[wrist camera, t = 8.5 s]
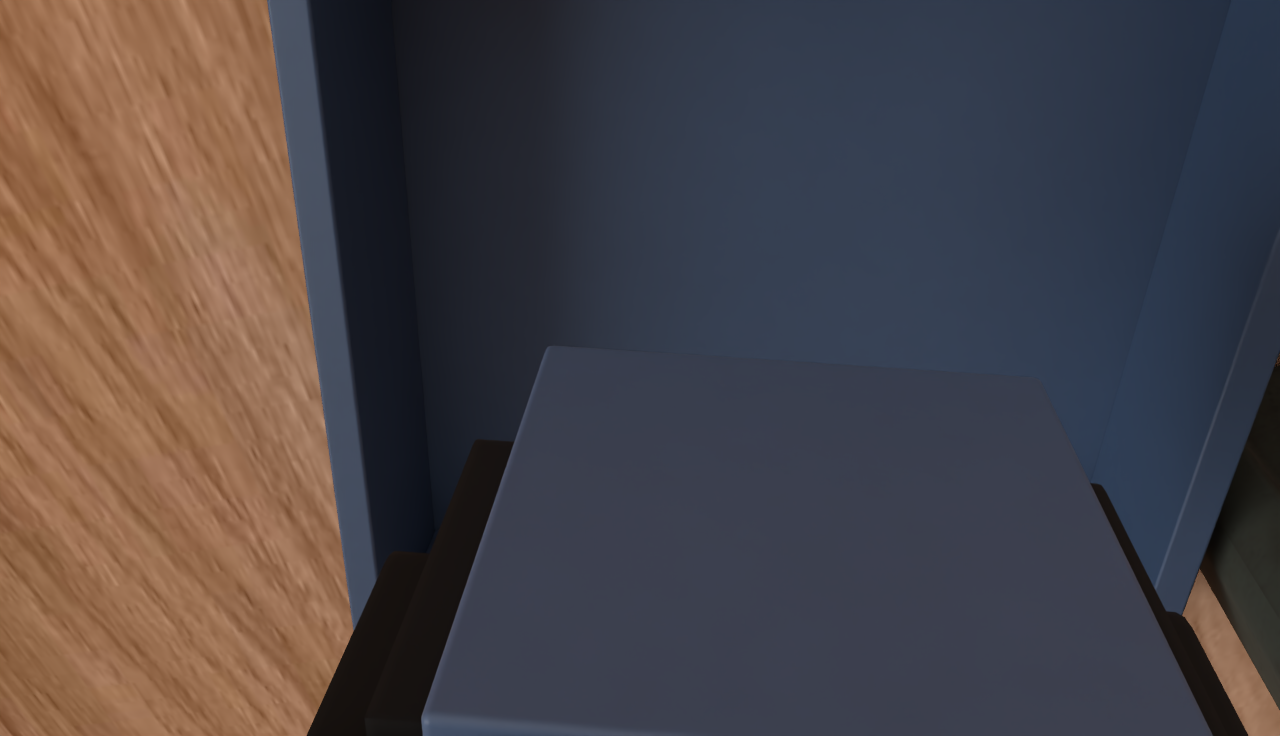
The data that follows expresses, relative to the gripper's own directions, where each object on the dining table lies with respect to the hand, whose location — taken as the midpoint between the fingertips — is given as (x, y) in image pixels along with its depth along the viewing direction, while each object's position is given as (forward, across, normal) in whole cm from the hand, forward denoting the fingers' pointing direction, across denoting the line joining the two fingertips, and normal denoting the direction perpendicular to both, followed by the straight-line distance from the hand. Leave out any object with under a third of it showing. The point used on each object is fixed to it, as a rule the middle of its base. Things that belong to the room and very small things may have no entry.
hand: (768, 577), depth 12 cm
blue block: (0, 0, 0) cm, 0 cm away
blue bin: (+9, 0, 0) cm, 9 cm away
